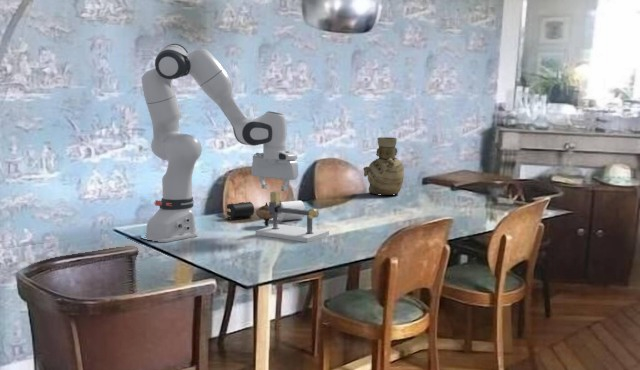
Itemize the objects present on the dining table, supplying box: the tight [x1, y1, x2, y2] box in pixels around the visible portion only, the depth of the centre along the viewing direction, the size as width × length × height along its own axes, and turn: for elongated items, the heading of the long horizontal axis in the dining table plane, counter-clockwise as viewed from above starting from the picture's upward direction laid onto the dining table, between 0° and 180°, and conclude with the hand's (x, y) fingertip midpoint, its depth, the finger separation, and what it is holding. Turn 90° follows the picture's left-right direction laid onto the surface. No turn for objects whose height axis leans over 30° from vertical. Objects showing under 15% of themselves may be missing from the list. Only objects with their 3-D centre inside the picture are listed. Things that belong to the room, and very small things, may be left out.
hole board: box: [255, 223, 330, 243], centre depth 269 cm, size 15×24×2 cm, turn 58°
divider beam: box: [268, 207, 320, 233], centre depth 268 cm, size 2×22×10 cm, turn 58°
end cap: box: [226, 201, 255, 220], centre depth 301 cm, size 10×7×7 cm
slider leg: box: [268, 190, 282, 228], centre depth 272 cm, size 4×3×14 cm, turn 148°
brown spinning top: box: [255, 202, 273, 227], centre depth 284 cm, size 8×8×10 cm
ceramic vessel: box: [363, 136, 405, 195], centre depth 365 cm, size 19×21×30 cm
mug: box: [277, 200, 306, 222], centre depth 296 cm, size 12×10×8 cm
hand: (274, 189), depth 270 cm, fingers open, 8 cm apart
